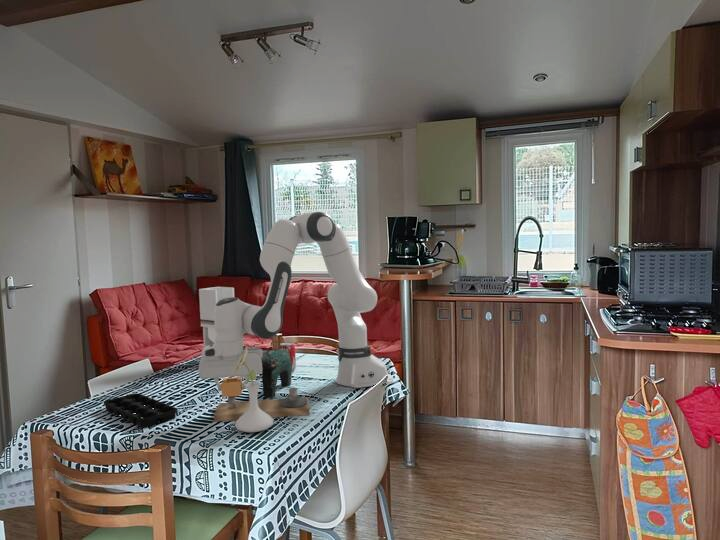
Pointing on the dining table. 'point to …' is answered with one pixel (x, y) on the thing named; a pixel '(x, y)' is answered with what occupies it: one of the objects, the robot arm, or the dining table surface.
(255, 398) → the flower in vase
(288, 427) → the dining table surface
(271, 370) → the green animal figurine
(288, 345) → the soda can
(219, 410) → the base board
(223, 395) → the orange slotted block
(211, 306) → the white block sculpture
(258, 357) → the robot arm
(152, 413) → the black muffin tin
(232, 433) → the dining table surface
